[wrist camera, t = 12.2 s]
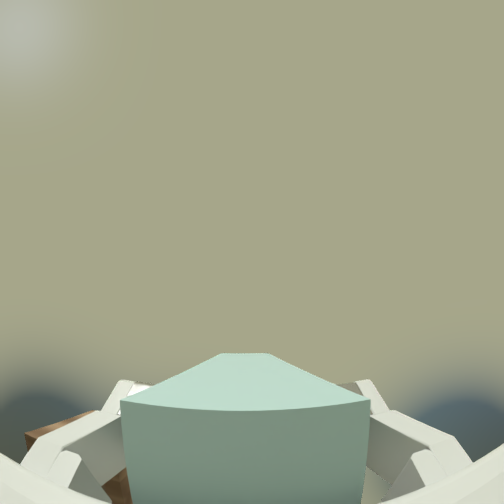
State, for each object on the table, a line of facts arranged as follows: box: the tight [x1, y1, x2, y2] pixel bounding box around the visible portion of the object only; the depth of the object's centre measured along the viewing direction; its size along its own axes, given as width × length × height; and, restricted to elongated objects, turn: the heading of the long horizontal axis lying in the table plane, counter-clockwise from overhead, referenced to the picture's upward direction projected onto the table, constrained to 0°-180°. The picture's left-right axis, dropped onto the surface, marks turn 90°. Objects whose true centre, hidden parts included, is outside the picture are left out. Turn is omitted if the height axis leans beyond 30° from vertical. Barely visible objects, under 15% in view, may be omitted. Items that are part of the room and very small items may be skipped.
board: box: [120, 353, 371, 504], centre depth 15 cm, size 23×4×2 cm, turn 1°
